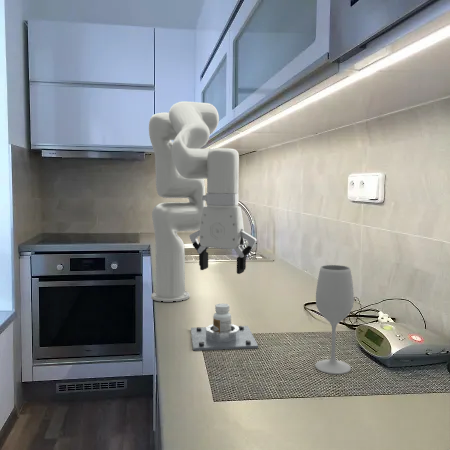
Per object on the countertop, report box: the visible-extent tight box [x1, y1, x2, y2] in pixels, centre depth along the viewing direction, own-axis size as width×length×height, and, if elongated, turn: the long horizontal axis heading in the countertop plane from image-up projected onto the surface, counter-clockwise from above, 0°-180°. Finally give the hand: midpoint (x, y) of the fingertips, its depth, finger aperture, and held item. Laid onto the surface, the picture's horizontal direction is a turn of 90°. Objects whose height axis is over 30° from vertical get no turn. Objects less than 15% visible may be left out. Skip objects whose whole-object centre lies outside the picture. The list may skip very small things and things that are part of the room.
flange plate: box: [190, 325, 259, 351], centre depth 114 cm, size 15×15×1 cm
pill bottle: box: [212, 303, 232, 332], centre depth 114 cm, size 4×4×8 cm
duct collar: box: [205, 323, 239, 342], centre depth 114 cm, size 8×8×2 cm
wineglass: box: [314, 264, 355, 375], centre depth 95 cm, size 8×8×21 cm
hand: (222, 270), depth 113 cm, fingers open, 9 cm apart
